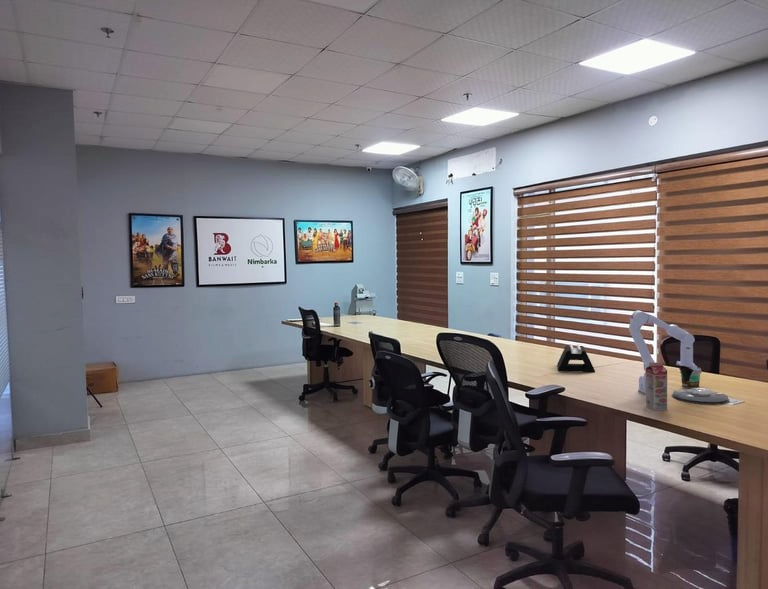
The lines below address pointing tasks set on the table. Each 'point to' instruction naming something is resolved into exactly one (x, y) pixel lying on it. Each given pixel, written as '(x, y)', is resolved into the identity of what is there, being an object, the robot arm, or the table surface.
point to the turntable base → (700, 402)
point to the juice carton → (656, 386)
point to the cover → (700, 392)
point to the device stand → (574, 354)
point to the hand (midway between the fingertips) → (686, 381)
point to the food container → (692, 379)
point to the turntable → (714, 397)
